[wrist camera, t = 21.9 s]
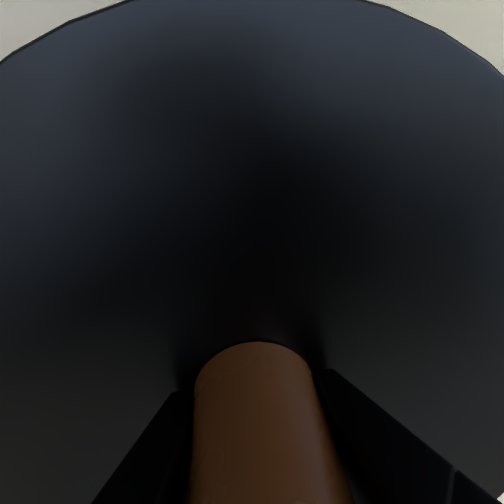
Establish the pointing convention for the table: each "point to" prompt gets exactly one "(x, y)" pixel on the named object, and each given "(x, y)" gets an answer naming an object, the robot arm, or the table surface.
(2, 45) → the table surface
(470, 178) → the lid
